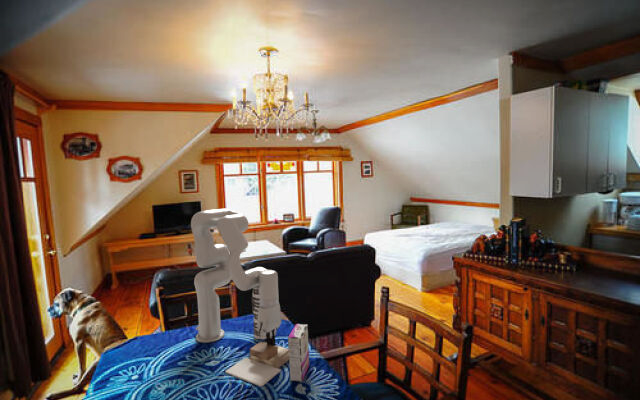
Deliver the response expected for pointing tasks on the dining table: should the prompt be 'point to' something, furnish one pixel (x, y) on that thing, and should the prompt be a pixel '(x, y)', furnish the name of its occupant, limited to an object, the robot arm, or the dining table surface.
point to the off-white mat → (253, 371)
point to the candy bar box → (298, 352)
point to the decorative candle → (256, 312)
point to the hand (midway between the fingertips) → (271, 345)
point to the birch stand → (275, 357)
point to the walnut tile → (264, 351)
